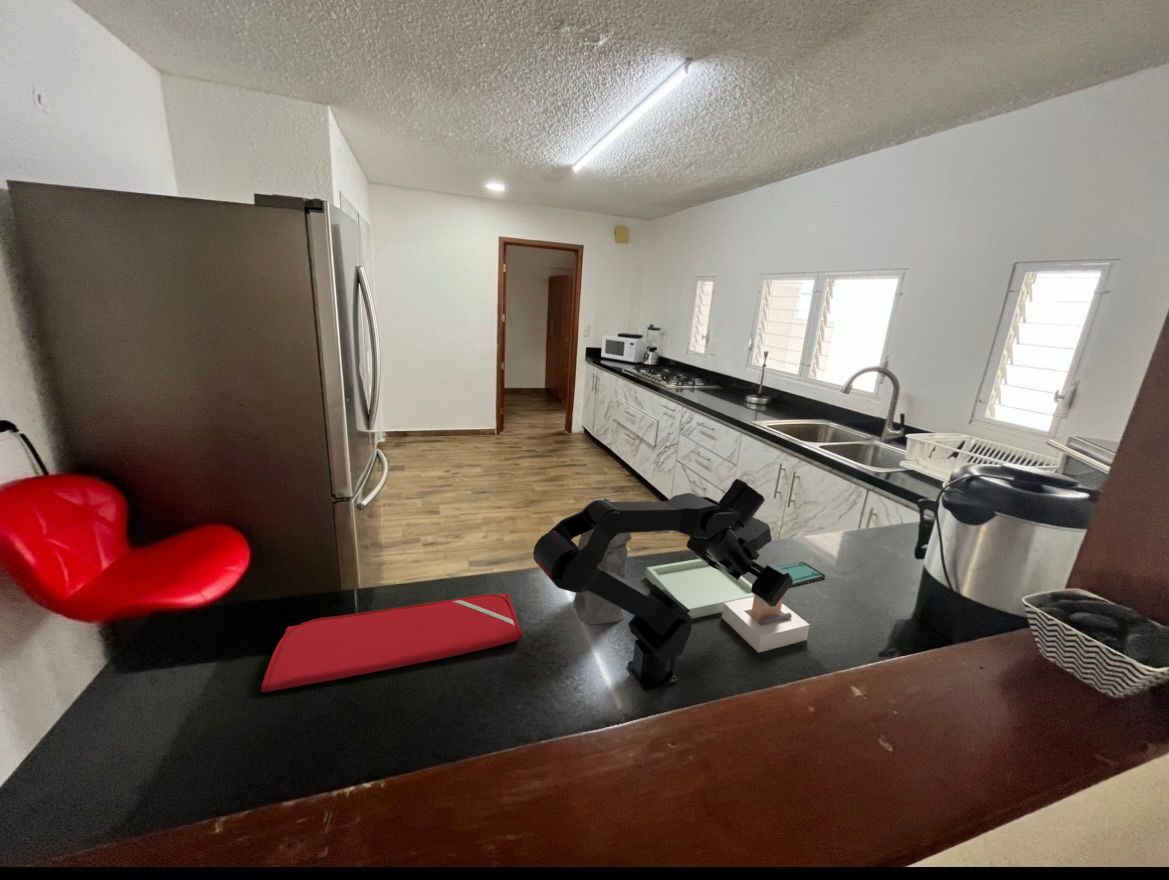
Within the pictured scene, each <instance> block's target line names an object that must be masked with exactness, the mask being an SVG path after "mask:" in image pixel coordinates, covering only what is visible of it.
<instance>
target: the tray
mask: <svg viewBox="0 0 1169 880" xmlns="http://www.w3.org/2000/svg"><path fill="white" fill-rule="evenodd" d="M645 578H646V579H647V580H648V581H649V582H650V583H651V584H652V585H653V584H655V585H656V586H657V587H659V588H660V589H661V590H666V591H667V592H668V593H670V594H671V595H672V596H673V597H674V598H676V599H677V600H678V601H679V602H681V603H682V604H683V605H684V606H685V607H687V608H688V609H689V610H690V612H689V613H688V614H689V615H690V616H691V617H692V620H693V619H697V618H701V617H705V616H711V615H715V614H719V613H722V612H723V606H724V603H726V602H730V601H735V600H740V599H745V598H749V597H754V594H753V593H752V592H751V589H752V584H753V583H751V582H750V581H748V580H747V579H746V578H745V577H743V575H741V577H740V578H739V579H738V580H736V579H734V578H733V577H731V576H730V575H728V574H727V573H725V572H724V571H721V570H718V569H715V568H712V567H711V566H709V565H708V564H706V563H705V562H703V561H702V560H700V559H699V558H696V559H689V560H684V561H679V562H672V563H666V564H660V565H655V566H647V567H646V571H645Z"/></svg>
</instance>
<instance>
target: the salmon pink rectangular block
mask: <svg viewBox="0 0 1169 880" xmlns="http://www.w3.org/2000/svg"><path fill="white" fill-rule="evenodd" d="M783 601H784V596H783V597H782V598H781V599H780V601H779V602H778V603H777V605H776V606H772V607H771V606H769V605H768V604H766V603H765V602H763V601H762V600H760V599H759V598H757V597H756V596H755V595H754V600H753V606H752V612H751V618H753V619H754V620H755V621H756V622H757V623H758V620H760V619H764V618H768V617H773V616H777V615H780V611H781V606H782V604H783Z"/></svg>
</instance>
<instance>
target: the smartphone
mask: <svg viewBox="0 0 1169 880" xmlns="http://www.w3.org/2000/svg"><path fill="white" fill-rule="evenodd" d="M778 567H779V568H781V569H783V570H785V571H786V572H788V573H789V574H790V575H791V577H792V579H793V583H792V584H791V586H793V587H796V586H795V585H797V586H799V585H798V584H801V585H805V584H804V583H807V584H809V583H808V582H810V583H812V582H811V581H815V580H819V581H821V580H823V579H822V578H826V574H824V573H823V572H822V571H820V570H818V569H816V568H814V567H813V566H811V565H810V564H808V563H806V562H804V561H800V562H794V563H791V564H787V565H782V566H778ZM760 573H761V572H760ZM820 579H821V580H820ZM815 582H816V581H815ZM802 583H803V584H802ZM791 586H790V587H789V588H792V587H791Z"/></svg>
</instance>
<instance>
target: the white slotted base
mask: <svg viewBox="0 0 1169 880" xmlns="http://www.w3.org/2000/svg"><path fill="white" fill-rule="evenodd" d="M753 600H754V597H749V598H745V599H740V600H735V601H730V602H726V603H724V606H723V612H721V618H722V619H723V620H724V621H725V622H726V623H727V624H728V625H729V626H730V627H731V628H732V629H733V630H734V631H735V632H736V633H737V634H738V635H740V637H741V638H742V639H743V640H744V641H746V643H748V644H749V645H750V646H751V647H752V648H753V649H754V650H755V651H756V652H757V653H762V652H766V651H770V650H775V649H777V648H781V647H782V648H783V647H787V646H789V645H792V644H796V643H801V642H804V641H807V640H808V634H809V631H810V625H811V624H810V623H809V622H807V621H806V620H804V619H803V618H802V617H801V616H799V615H798V614H797V613H795V611H793V610H792V609H790V608H789V607H788V606H786V605H785V604H784V603H782V606H781V611H780V615H777V616H773V617H768V618H764V619H760V620H758V623H757V622H756V621H755V620H754V619H753V618H751V612H752V606H753Z"/></svg>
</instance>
